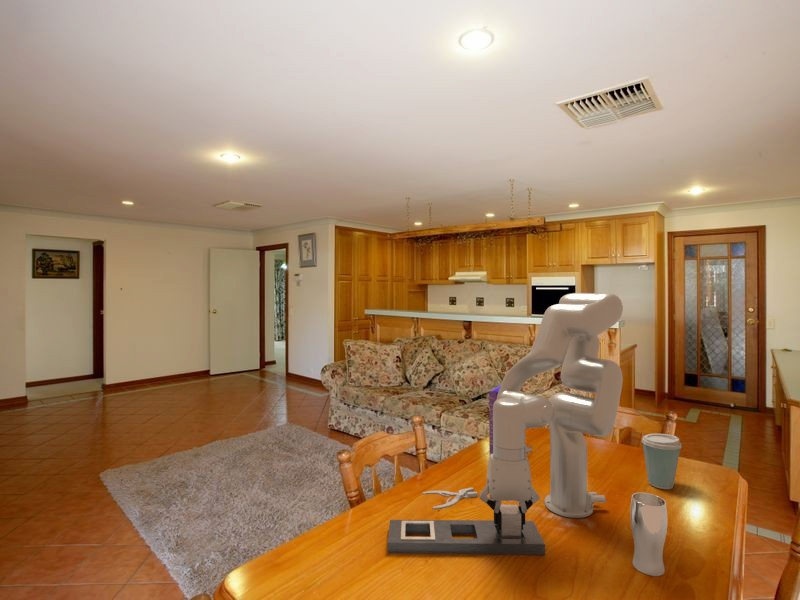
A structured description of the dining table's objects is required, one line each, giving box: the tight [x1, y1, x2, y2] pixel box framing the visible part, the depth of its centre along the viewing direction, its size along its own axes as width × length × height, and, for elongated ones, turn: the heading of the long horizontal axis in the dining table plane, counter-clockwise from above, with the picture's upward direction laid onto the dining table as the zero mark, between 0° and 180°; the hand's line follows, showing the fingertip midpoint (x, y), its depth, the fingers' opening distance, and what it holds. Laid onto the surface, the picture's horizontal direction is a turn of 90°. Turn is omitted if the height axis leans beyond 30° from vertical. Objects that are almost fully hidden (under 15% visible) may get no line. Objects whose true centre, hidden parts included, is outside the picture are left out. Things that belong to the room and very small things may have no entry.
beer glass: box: [629, 491, 668, 577], centre depth 94 cm, size 7×7×15 cm
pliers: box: [422, 487, 479, 510], centre depth 127 cm, size 10×2×15 cm
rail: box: [387, 519, 546, 556], centre depth 105 cm, size 36×10×3 cm, turn 88°
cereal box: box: [488, 384, 501, 455], centre depth 163 cm, size 17×5×24 cm, turn 147°
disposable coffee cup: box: [641, 433, 682, 490], centre depth 134 cm, size 11×11×15 cm
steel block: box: [498, 504, 521, 539], centre depth 104 cm, size 4×4×8 cm
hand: (509, 526), depth 104 cm, fingers closed on steel block, 4 cm apart
